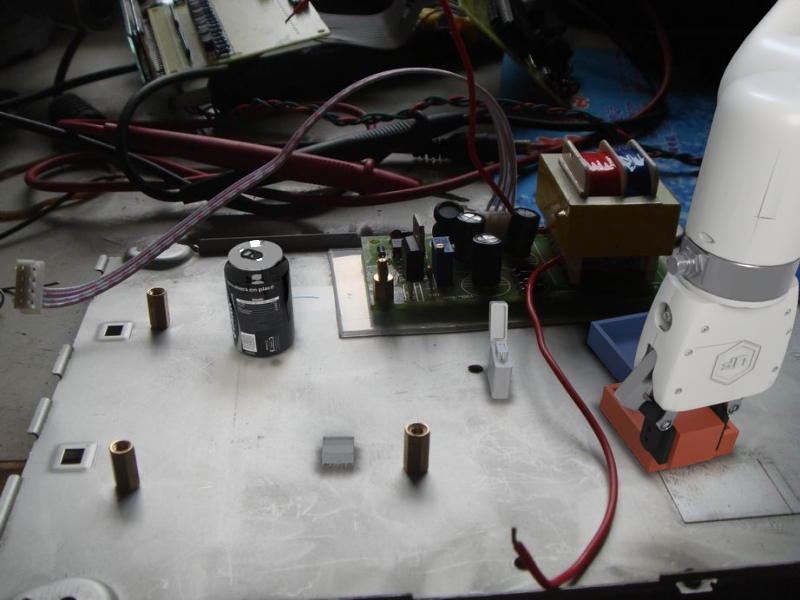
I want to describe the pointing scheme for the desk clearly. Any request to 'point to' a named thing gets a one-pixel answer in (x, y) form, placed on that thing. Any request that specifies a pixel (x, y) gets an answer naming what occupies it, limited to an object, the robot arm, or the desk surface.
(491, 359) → the lighter
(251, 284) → the beverage can
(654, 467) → the terracotta bin
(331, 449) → the grey pin connector
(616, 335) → the slate bin
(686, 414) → the terracotta block
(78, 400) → the desk surface
